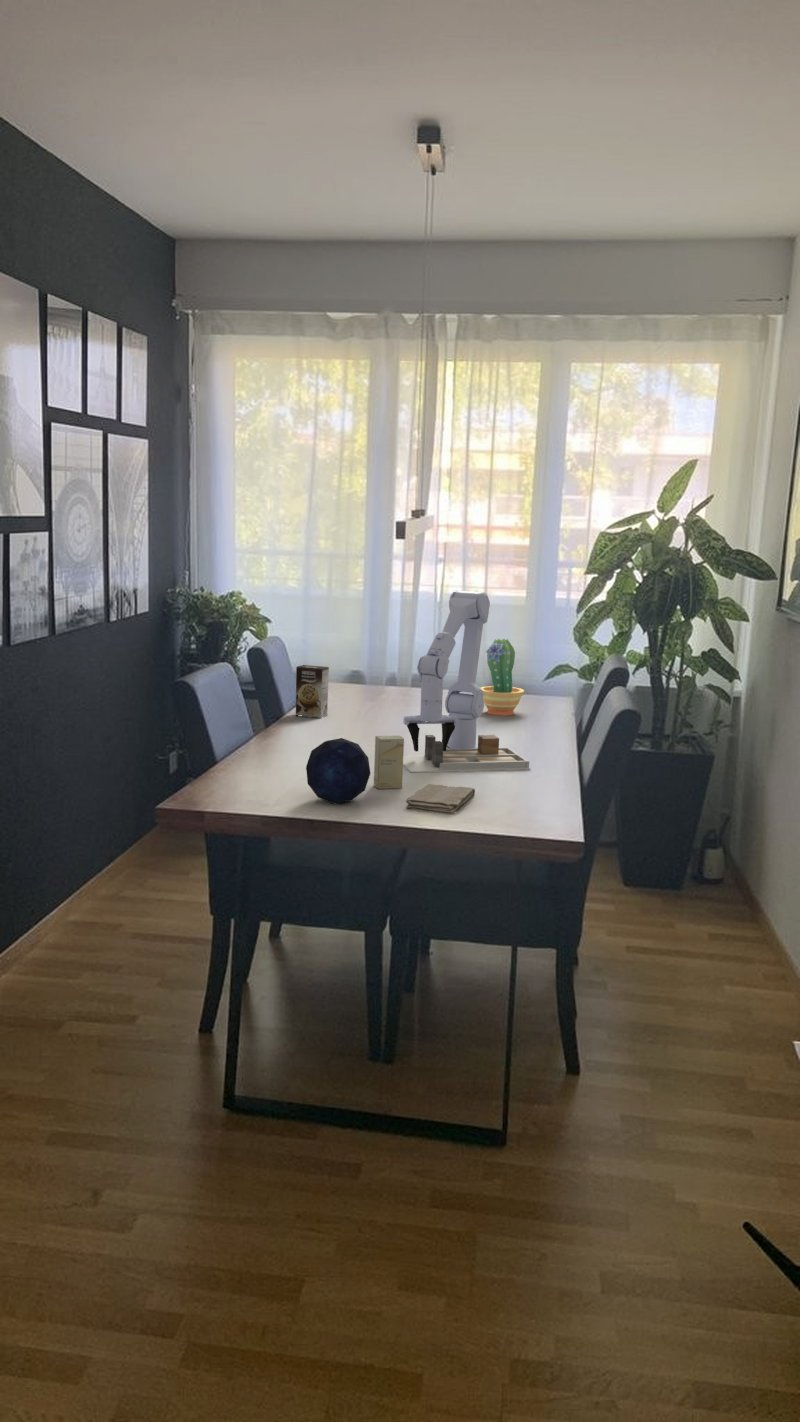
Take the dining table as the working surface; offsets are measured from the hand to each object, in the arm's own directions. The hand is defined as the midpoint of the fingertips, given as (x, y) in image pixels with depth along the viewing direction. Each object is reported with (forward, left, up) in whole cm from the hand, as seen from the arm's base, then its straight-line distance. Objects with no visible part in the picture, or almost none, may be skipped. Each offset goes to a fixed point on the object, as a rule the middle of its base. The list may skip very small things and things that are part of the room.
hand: (429, 750), depth 277 cm
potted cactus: (-66, +41, -3) cm, 78 cm away
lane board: (+4, +8, -3) cm, 9 cm away
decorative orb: (+37, -31, -3) cm, 48 cm away
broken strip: (+8, +10, -2) cm, 13 cm away
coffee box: (-66, -23, -3) cm, 70 cm away
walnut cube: (0, +16, -1) cm, 16 cm away
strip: (0, +10, -2) cm, 10 cm away
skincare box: (+26, -17, -3) cm, 31 cm away
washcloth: (+41, -8, -3) cm, 42 cm away
